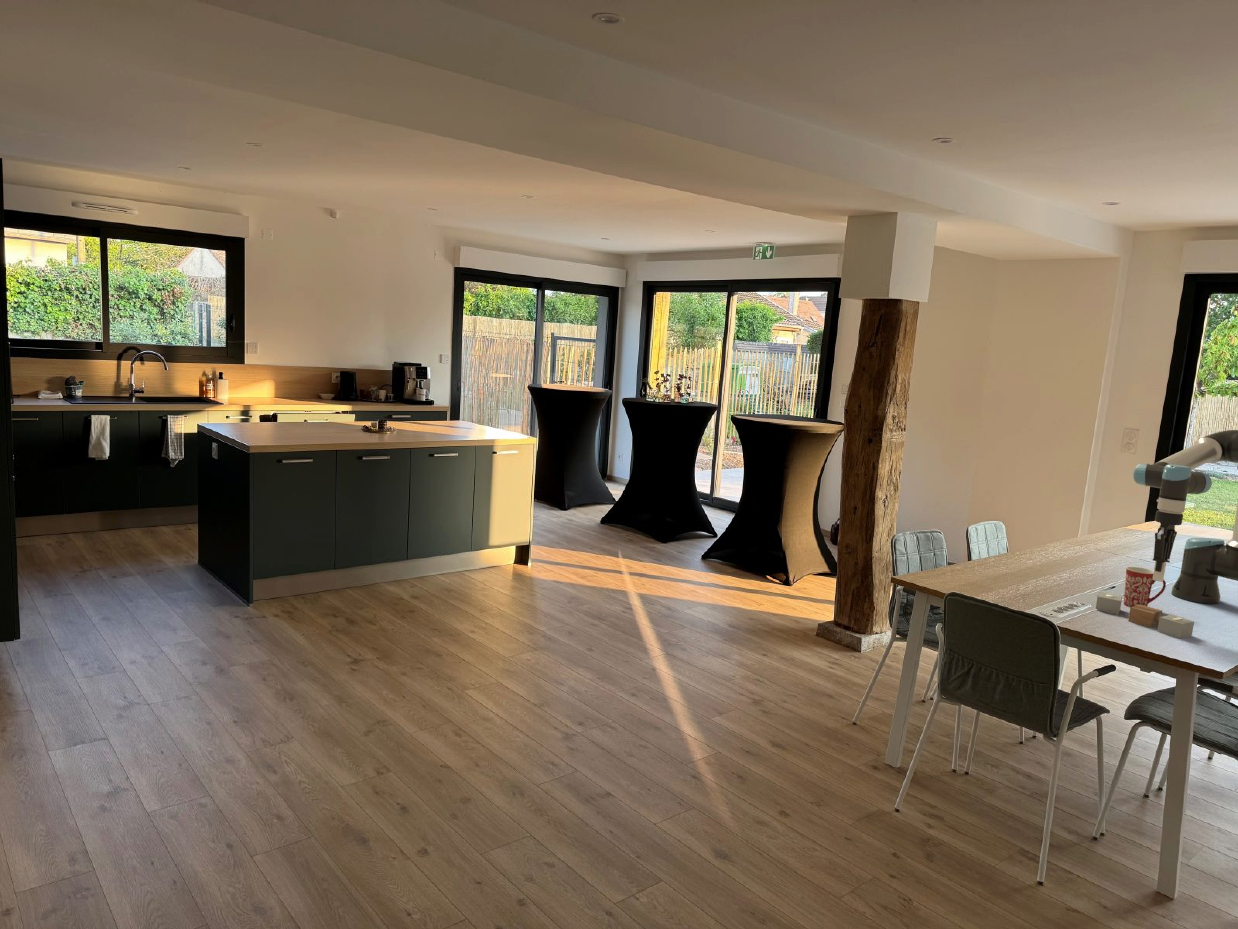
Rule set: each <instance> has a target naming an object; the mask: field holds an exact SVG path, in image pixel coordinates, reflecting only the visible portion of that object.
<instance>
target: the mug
mask: <svg viewBox="0 0 1238 929" xmlns="http://www.w3.org/2000/svg"><path fill="white" fill-rule="evenodd" d="M1125 570H1126V571H1125V580H1124V581H1125V583H1124V593H1123V594H1124V595H1123V605H1124V606H1125V607H1128V608H1130V607H1133V606H1136V605H1144V606H1147V607H1149V604H1150V603H1152V602H1153V601H1155V600H1156V599H1158V598H1159V596H1161V595H1162V594H1163V593H1164V591H1165V590H1166V587H1167V583H1166V581H1165V578H1164V579H1163V582H1162V588H1161V589H1160V591H1159V592H1158V593H1157V594H1155V595H1154V596H1152V597H1150V596H1151V592H1152V587H1153V586H1152V585H1154V584H1155V583H1156V581H1155V580H1152V579H1153V573H1154V570H1151V569H1149V568H1144V567H1139V566H1126V567H1125Z"/></svg>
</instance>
